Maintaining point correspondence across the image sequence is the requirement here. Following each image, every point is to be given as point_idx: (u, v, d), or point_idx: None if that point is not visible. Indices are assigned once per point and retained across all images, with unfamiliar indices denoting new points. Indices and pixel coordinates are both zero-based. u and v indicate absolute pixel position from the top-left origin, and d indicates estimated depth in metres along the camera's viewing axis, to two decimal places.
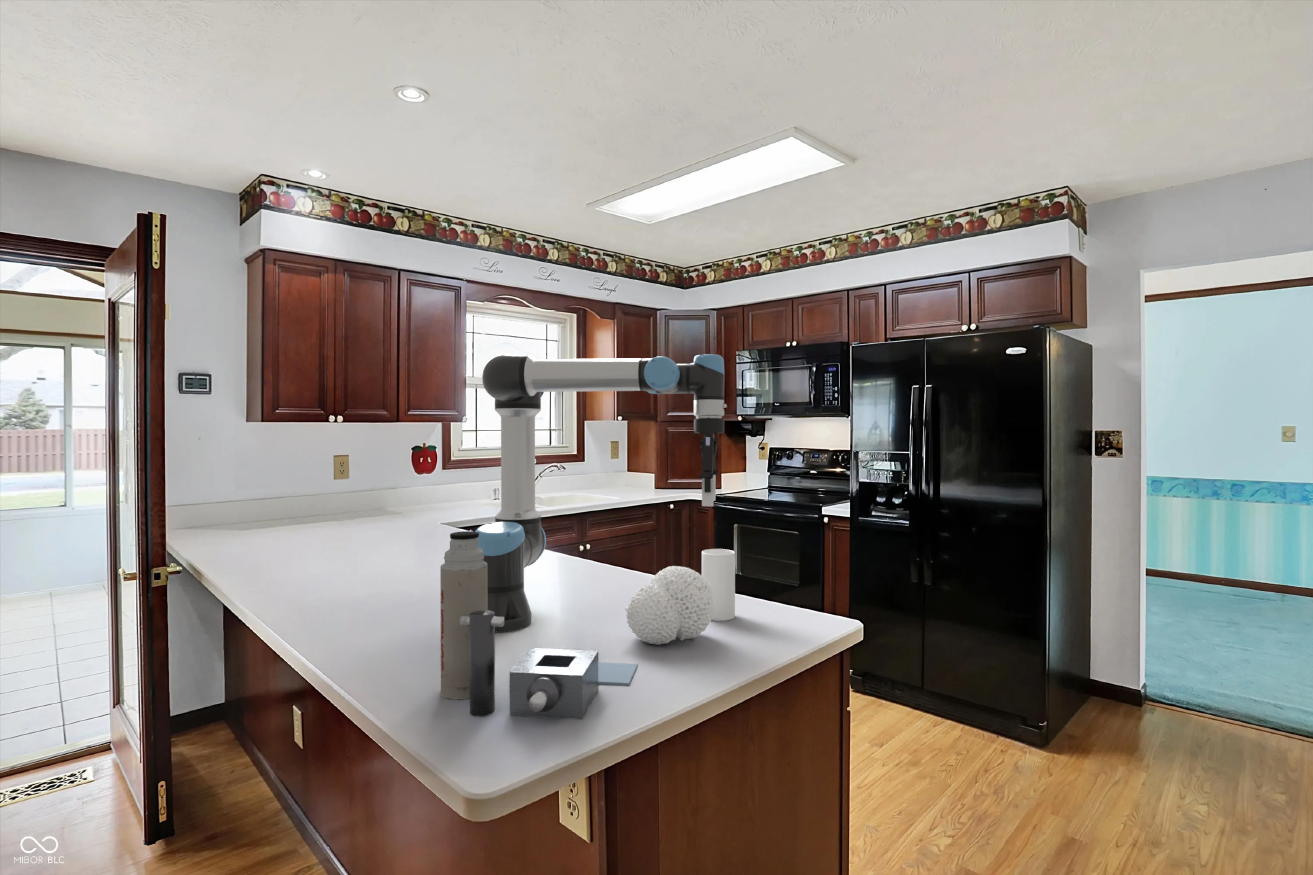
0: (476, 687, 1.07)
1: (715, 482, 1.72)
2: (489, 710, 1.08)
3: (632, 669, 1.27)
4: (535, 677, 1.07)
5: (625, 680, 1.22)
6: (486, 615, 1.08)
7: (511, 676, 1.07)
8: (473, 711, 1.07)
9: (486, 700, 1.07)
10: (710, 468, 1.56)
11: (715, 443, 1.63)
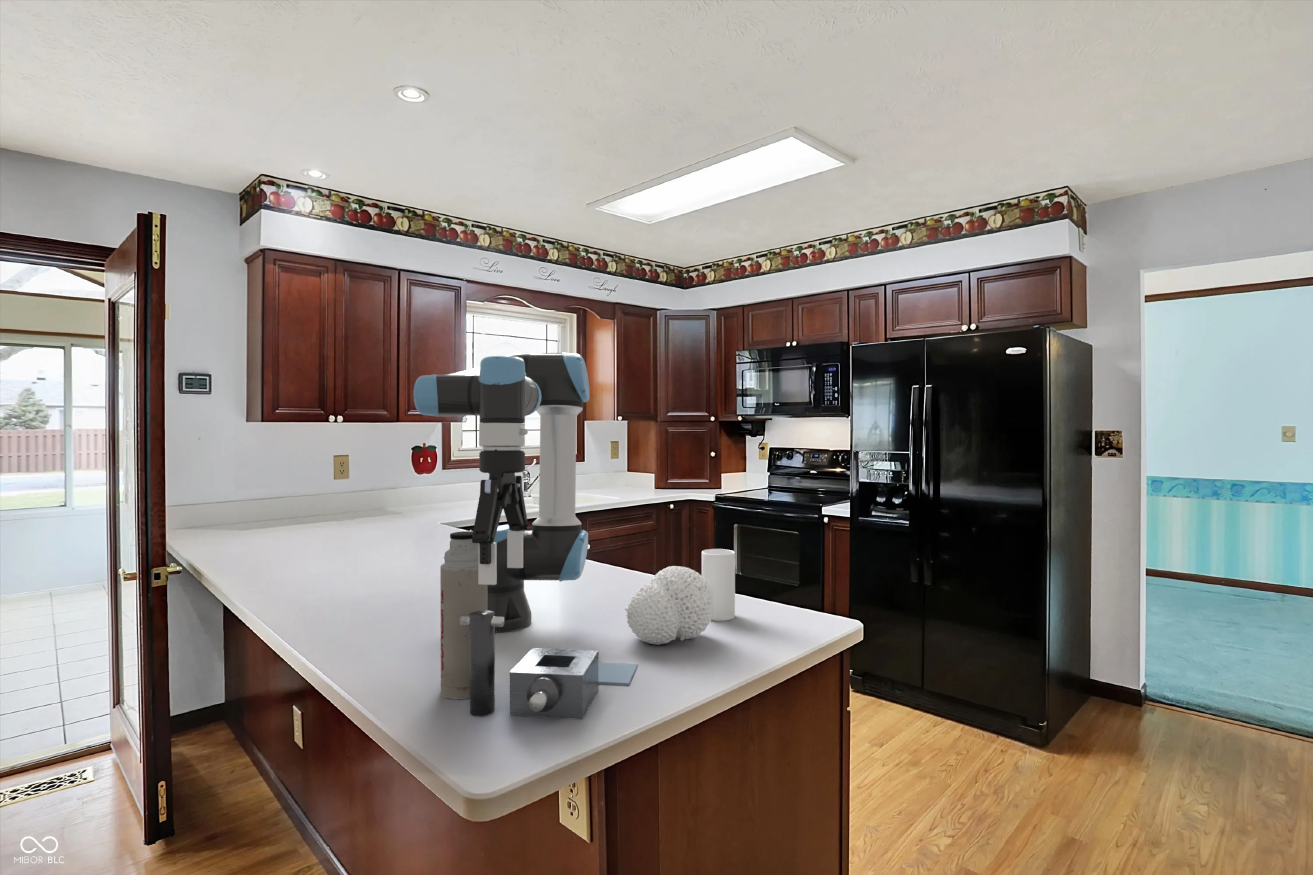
0: (476, 687, 1.07)
1: (522, 541, 1.19)
2: (489, 710, 1.08)
3: (632, 669, 1.27)
4: (535, 677, 1.07)
5: (625, 680, 1.22)
6: (486, 615, 1.08)
7: (511, 676, 1.07)
8: (473, 711, 1.07)
9: (486, 700, 1.07)
10: (485, 528, 1.03)
11: (507, 487, 1.10)
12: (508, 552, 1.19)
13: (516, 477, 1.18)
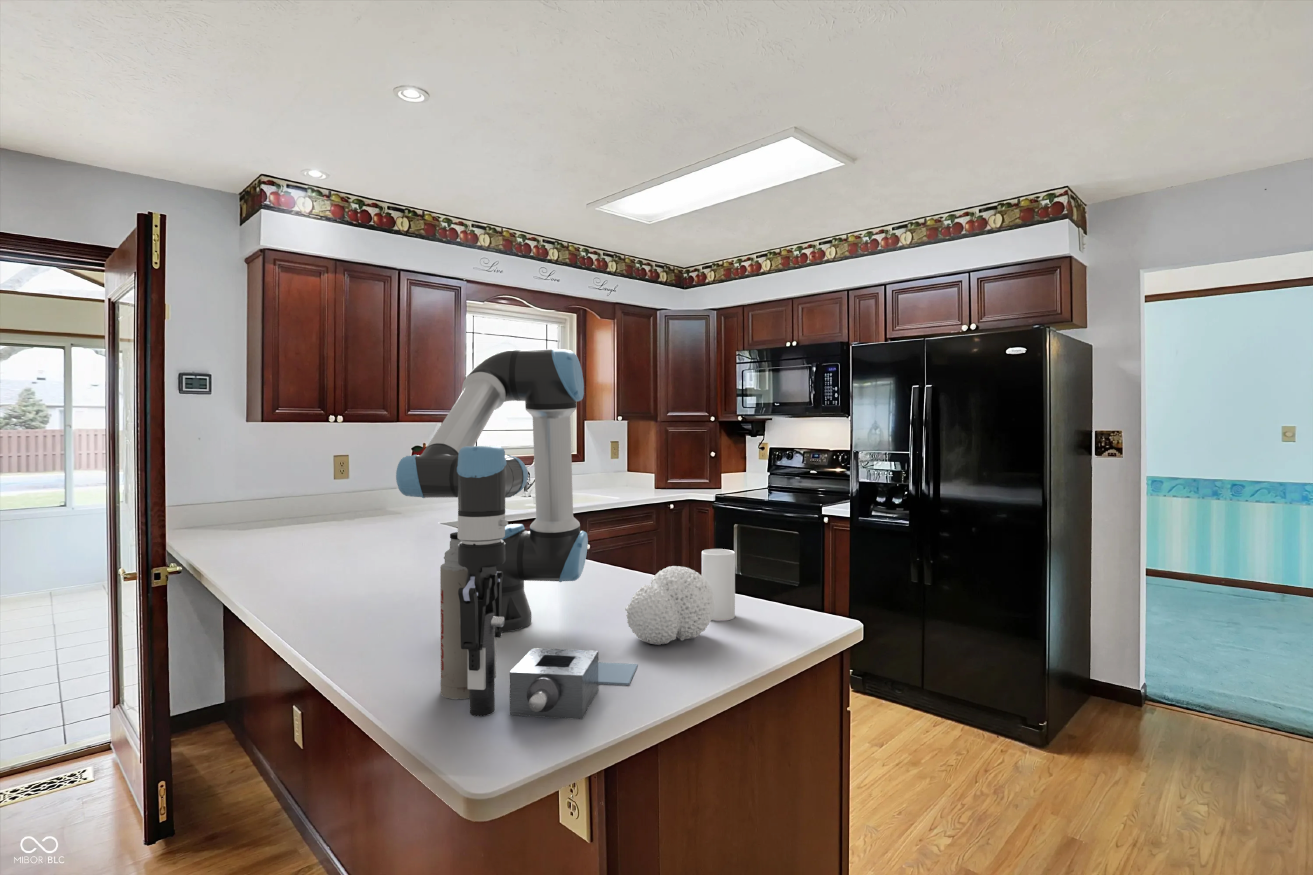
0: None
1: (495, 650, 1.11)
2: (489, 710, 1.08)
3: (632, 669, 1.27)
4: (535, 677, 1.07)
5: (625, 680, 1.22)
6: (486, 615, 1.08)
7: (511, 676, 1.07)
8: (473, 711, 1.07)
9: (486, 700, 1.07)
10: (472, 639, 1.03)
11: (487, 584, 1.07)
12: None
13: (497, 572, 1.15)
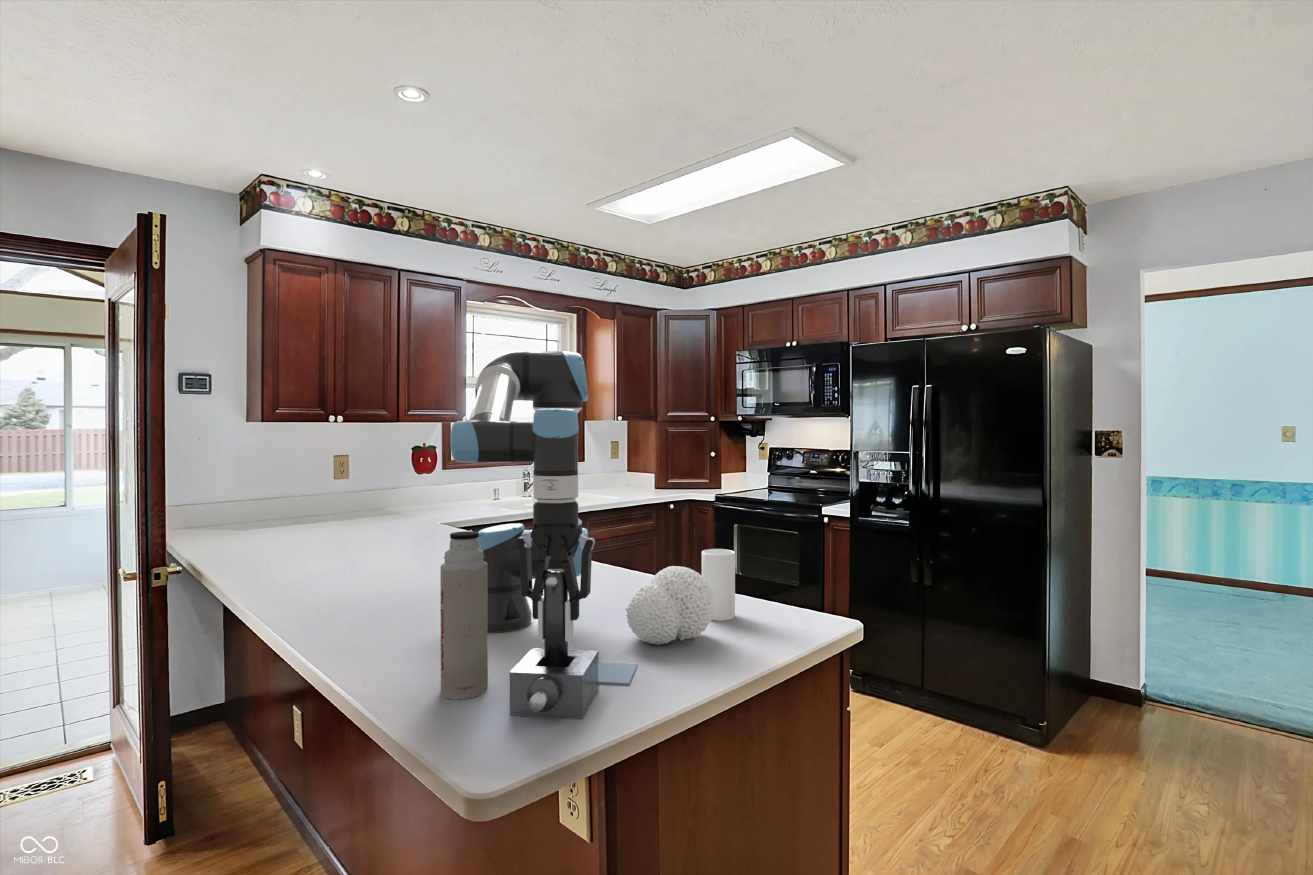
0: None
1: (567, 613, 1.11)
2: (546, 664, 1.11)
3: (632, 669, 1.27)
4: (535, 677, 1.07)
5: (625, 680, 1.22)
6: (548, 572, 1.12)
7: (511, 676, 1.07)
8: None
9: (544, 653, 1.12)
10: None
11: None
12: None
13: (588, 539, 1.11)
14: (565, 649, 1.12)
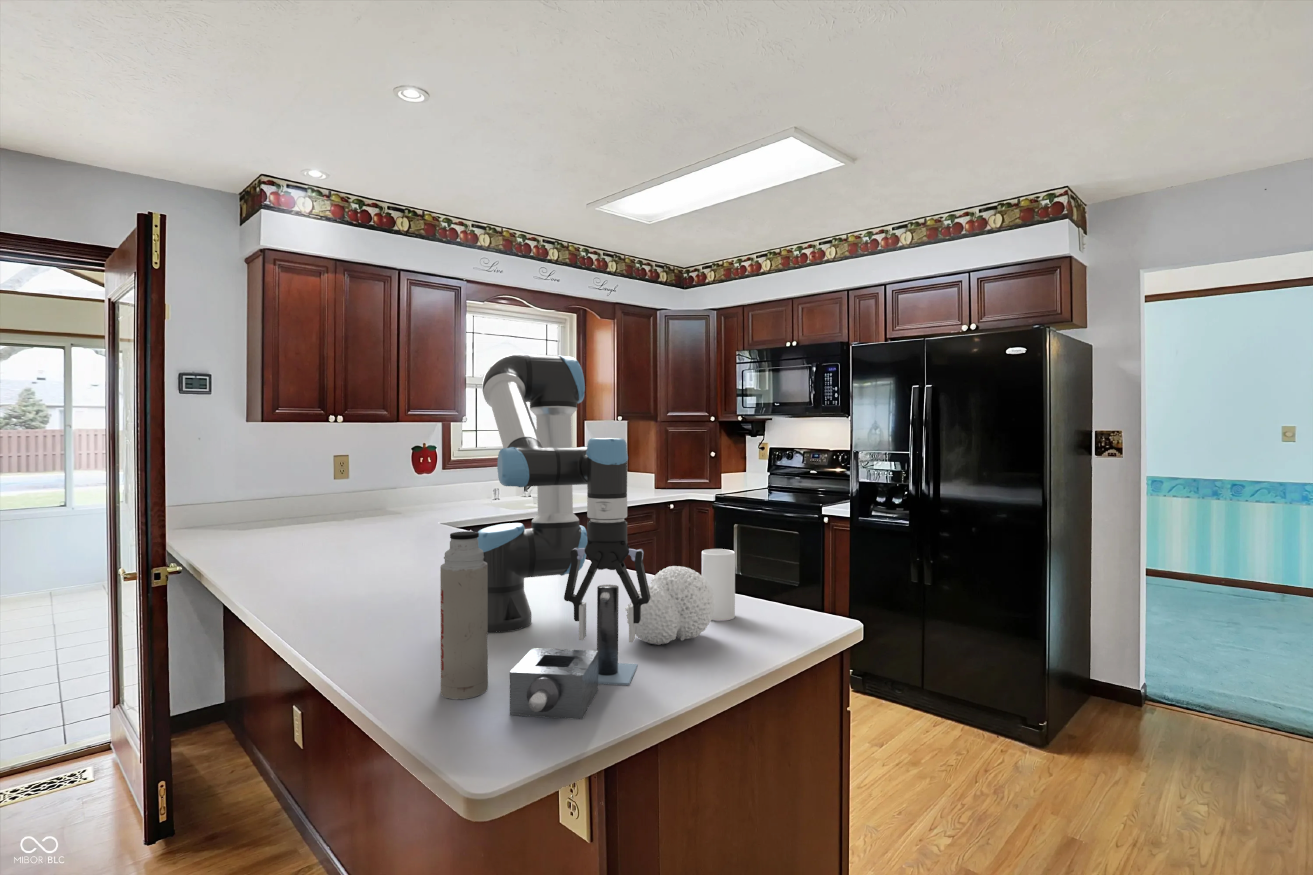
0: None
1: (630, 617, 1.24)
2: (599, 670, 1.24)
3: (632, 669, 1.27)
4: (535, 677, 1.07)
5: (625, 680, 1.22)
6: (602, 587, 1.25)
7: (511, 676, 1.07)
8: None
9: (598, 660, 1.25)
10: None
11: (594, 555, 1.24)
12: None
13: (637, 551, 1.24)
14: (616, 657, 1.25)
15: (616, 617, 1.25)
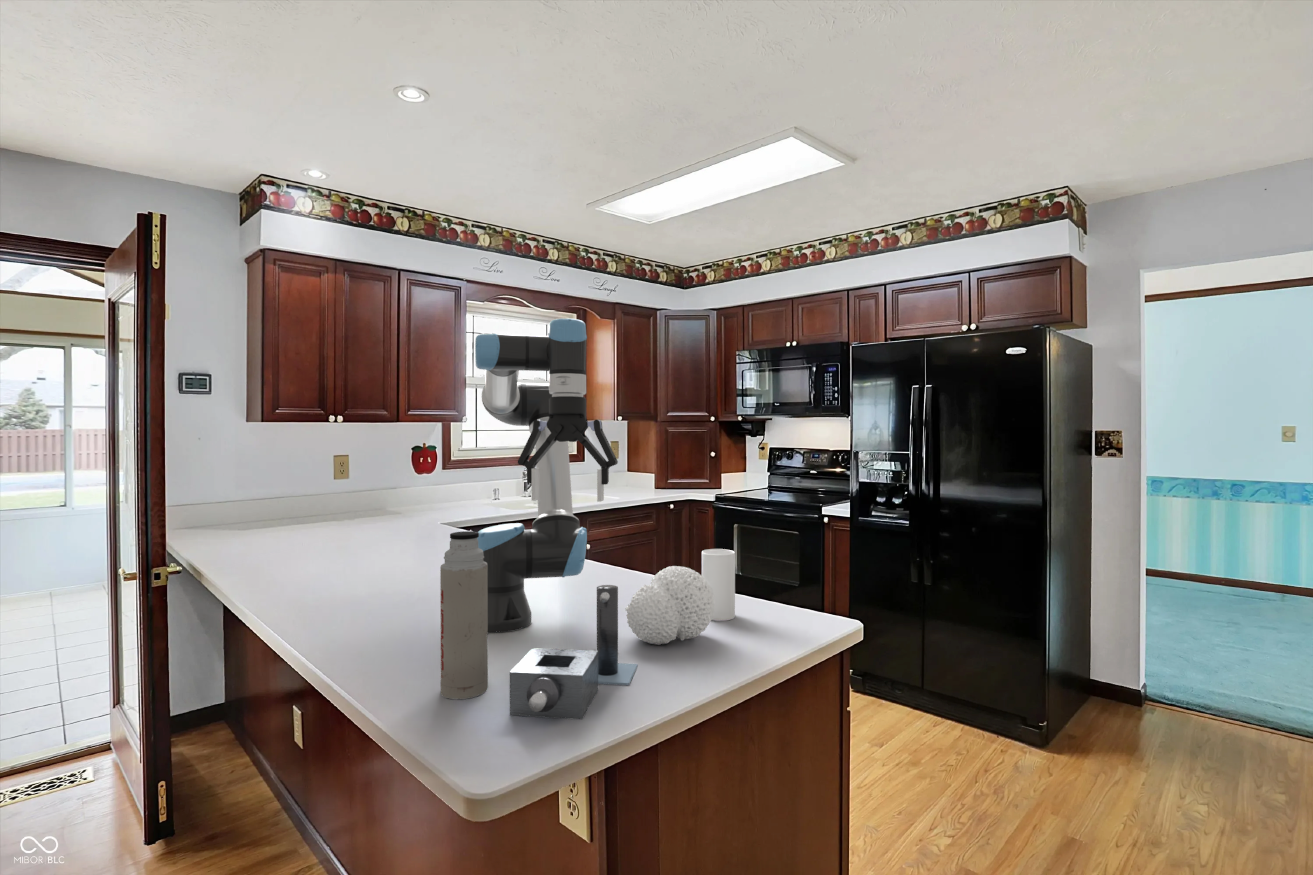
0: None
1: (598, 478, 1.34)
2: (599, 671, 1.24)
3: (632, 669, 1.27)
4: (535, 677, 1.07)
5: (625, 680, 1.22)
6: (601, 588, 1.25)
7: (511, 676, 1.07)
8: None
9: None
10: None
11: None
12: None
13: None
14: (616, 657, 1.25)
15: (616, 617, 1.25)
